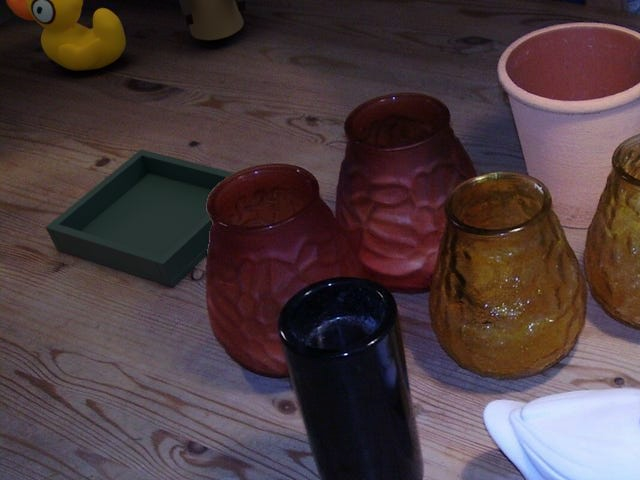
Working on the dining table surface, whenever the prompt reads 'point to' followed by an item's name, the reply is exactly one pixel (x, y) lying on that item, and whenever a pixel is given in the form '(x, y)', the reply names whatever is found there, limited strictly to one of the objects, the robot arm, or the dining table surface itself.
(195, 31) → the brown piece
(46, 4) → the duckling
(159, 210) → the tray
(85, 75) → the dining table surface
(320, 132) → the dining table surface
